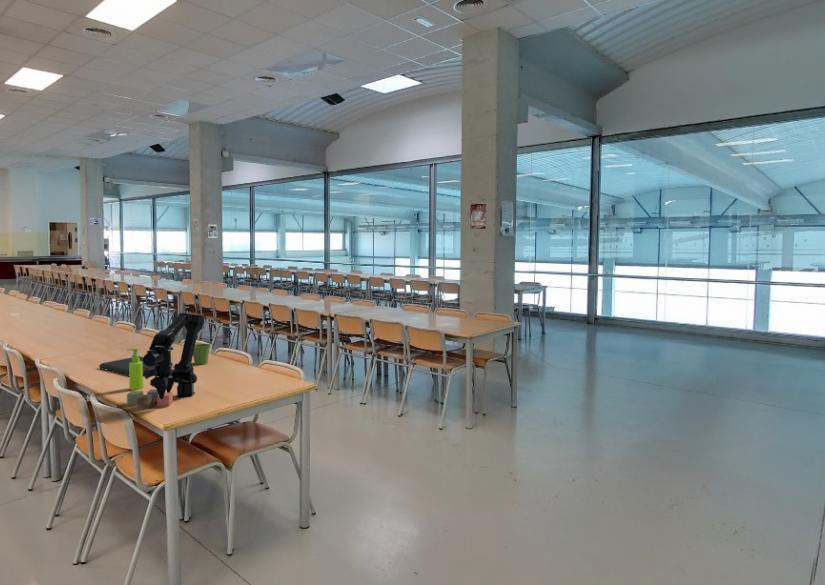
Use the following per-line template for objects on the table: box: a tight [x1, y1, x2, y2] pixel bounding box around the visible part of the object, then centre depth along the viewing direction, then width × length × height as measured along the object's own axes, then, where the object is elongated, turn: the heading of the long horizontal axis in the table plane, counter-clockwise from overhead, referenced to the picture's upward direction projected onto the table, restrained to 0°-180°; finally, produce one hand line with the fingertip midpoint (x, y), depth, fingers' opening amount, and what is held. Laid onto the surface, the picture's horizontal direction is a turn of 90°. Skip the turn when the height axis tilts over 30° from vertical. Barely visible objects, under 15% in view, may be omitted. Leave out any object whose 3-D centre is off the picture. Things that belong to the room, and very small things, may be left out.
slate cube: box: [146, 388, 159, 402], centre depth 246 cm, size 5×5×5 cm
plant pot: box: [192, 343, 212, 365], centre depth 323 cm, size 12×12×11 cm
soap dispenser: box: [126, 347, 144, 391], centre depth 266 cm, size 6×7×20 cm
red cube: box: [156, 392, 174, 407], centre depth 241 cm, size 5×5×5 cm
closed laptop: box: [98, 355, 173, 376], centre depth 309 cm, size 33×4×24 cm
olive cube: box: [126, 390, 144, 406], centre depth 242 cm, size 5×5×5 cm
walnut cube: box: [136, 394, 154, 410], centre depth 237 cm, size 5×5×5 cm
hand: (165, 396), depth 241 cm, fingers open, 9 cm apart
